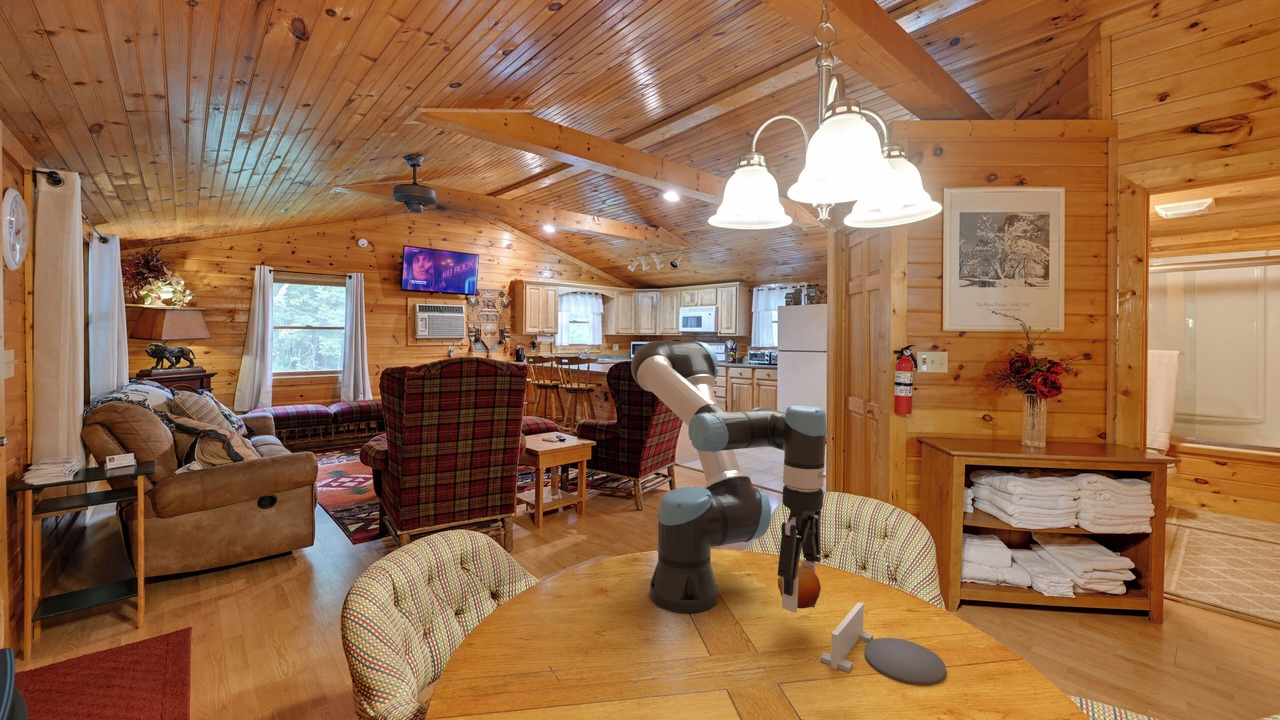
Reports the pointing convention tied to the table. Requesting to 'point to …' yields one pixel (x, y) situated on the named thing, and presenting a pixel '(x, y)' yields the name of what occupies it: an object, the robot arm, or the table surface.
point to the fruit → (805, 587)
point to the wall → (846, 639)
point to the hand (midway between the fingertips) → (798, 601)
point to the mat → (905, 661)
